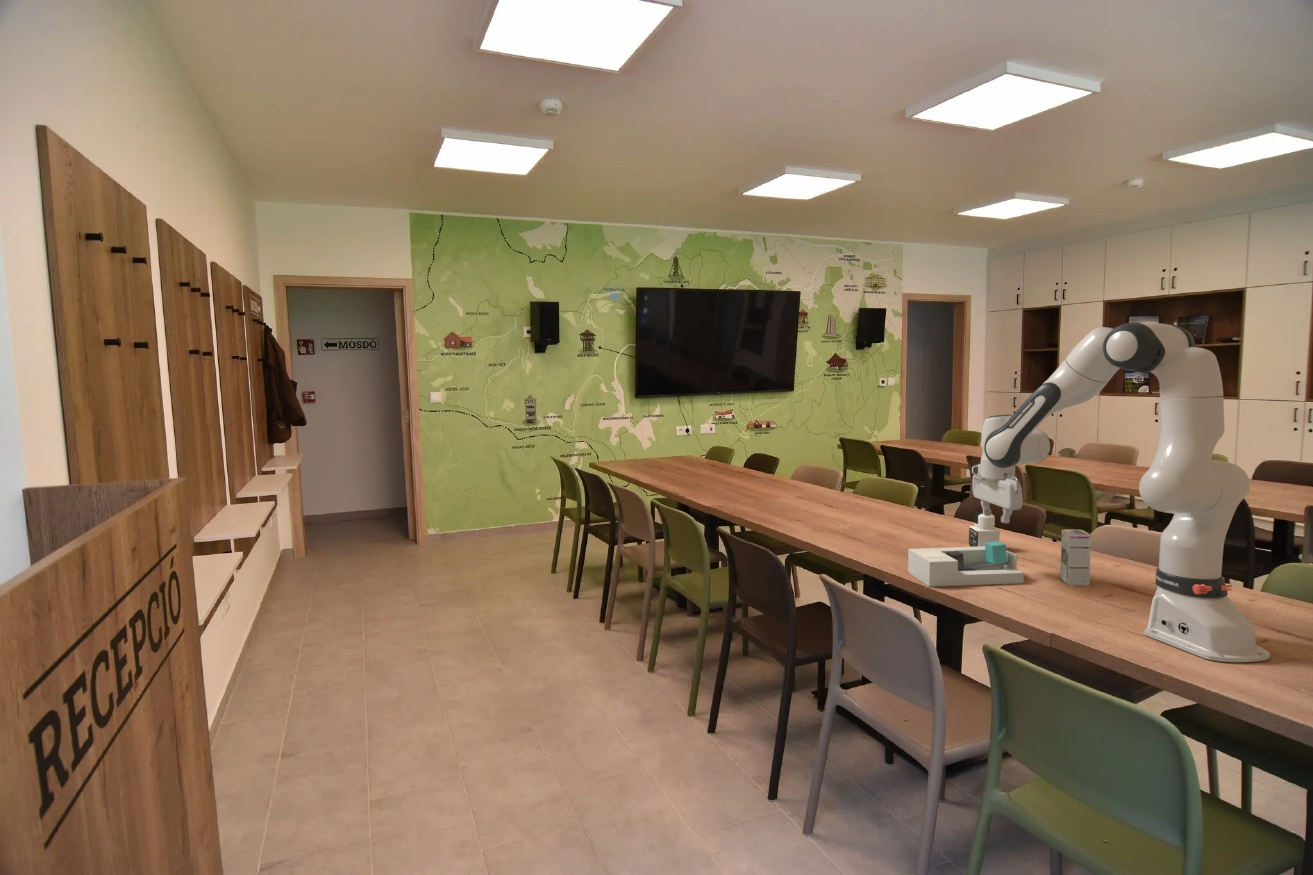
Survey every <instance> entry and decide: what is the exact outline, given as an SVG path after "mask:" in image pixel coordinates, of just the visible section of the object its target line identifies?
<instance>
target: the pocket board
mask: <svg viewBox="0 0 1313 875" xmlns="http://www.w3.org/2000/svg"><path fill="white" fill-rule="evenodd" d="M953 551H959V552H961V553H962V554H963V561H964V564H966V563H973V562H981V561H987V560H986V553H985V546H981V547H969V546H956V547H929V548H925V547H924V548H908V554H907V555H908V556H907V557H908V559H907V560H908V563H907V564H908V565H907V572H908V573H909V574H910V575H912V576H913V577H915V578H916V579H917V580H919V581H920V582H922V583H923V584H924V585H926V586H928V587H956V586H957V587H958V586H959V587H960V586H985V585H986V586H987V585H1009V584H1011V585H1012V584H1025V582H1024V581H1025V572H1023V571H1021V570H1019V569H1018V555H1017V554H1015V553H1014V552H1011V551H1008V550H1007V549H1006V554H1007V561H1008V562H1009V565H1002V566H994V567H987V568H979V569H972V570H965V571H958V561H957V560H955V559H953V558H952V557H950V556H948V555H947V552H953Z"/></svg>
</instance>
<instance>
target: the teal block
mask: <svg viewBox="0 0 1313 875" xmlns="http://www.w3.org/2000/svg"><path fill="white" fill-rule="evenodd" d="M1006 550H1007V545H1006V544H1005V543H1004V542H1002V541H1000V540H999V541H994V542H986V543H985V553H986V560H987V561H989V562H991V563H993V564H997V563H1004V562H1007V554H1006Z"/></svg>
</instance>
